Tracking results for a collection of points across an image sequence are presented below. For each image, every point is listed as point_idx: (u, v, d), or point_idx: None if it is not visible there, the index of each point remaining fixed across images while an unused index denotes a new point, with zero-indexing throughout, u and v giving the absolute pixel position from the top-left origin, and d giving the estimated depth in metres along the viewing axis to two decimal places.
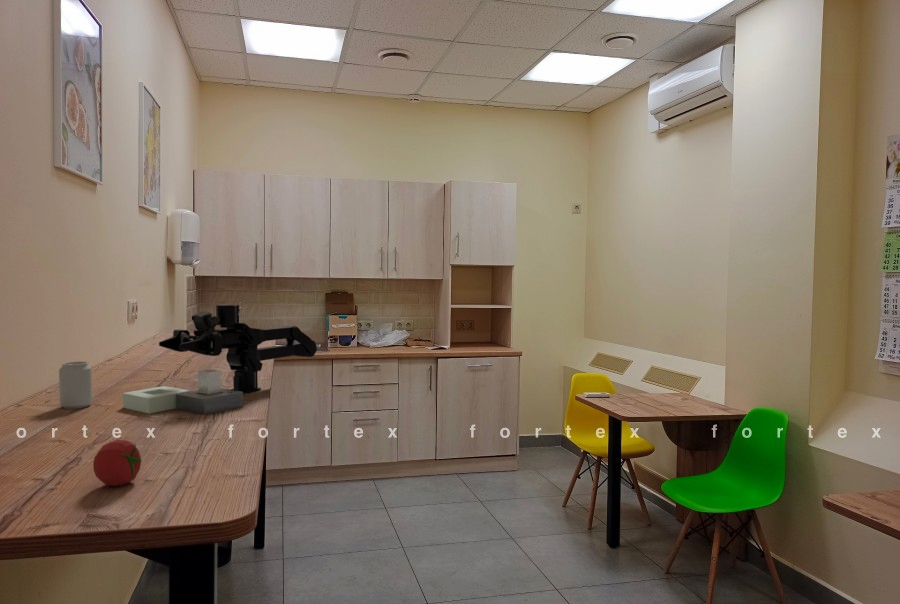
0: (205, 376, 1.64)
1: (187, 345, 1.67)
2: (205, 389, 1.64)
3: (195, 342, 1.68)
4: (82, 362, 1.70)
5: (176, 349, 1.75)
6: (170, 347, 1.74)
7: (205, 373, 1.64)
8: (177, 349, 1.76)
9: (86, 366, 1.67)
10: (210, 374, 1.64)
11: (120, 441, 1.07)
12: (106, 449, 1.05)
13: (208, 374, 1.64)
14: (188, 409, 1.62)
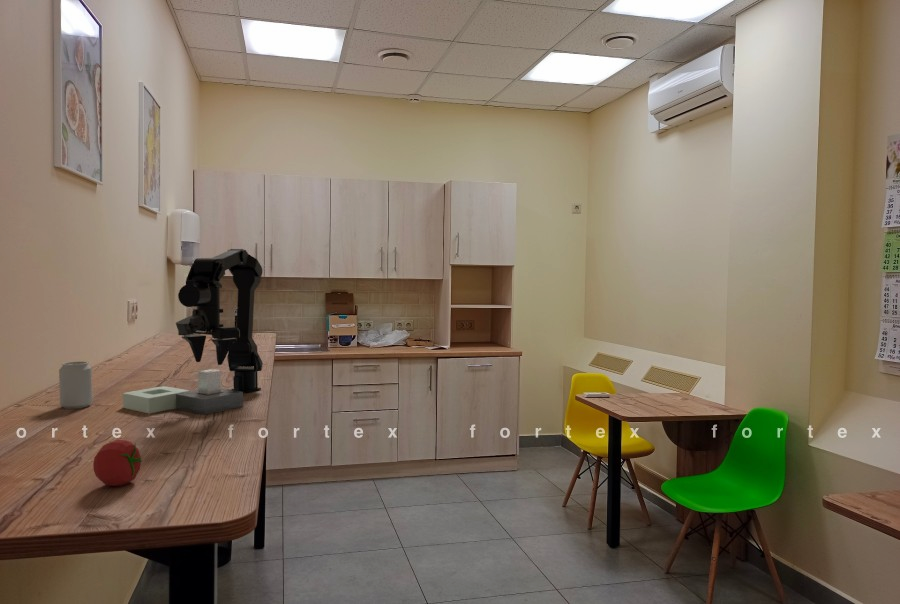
0: (205, 376, 1.64)
1: (220, 357, 1.63)
2: (205, 389, 1.64)
3: (220, 350, 1.62)
4: (82, 362, 1.70)
5: (204, 341, 1.70)
6: (202, 349, 1.70)
7: (205, 373, 1.64)
8: (204, 340, 1.70)
9: (86, 366, 1.67)
10: (210, 374, 1.64)
11: (120, 441, 1.07)
12: (106, 449, 1.05)
13: (208, 374, 1.64)
14: (188, 409, 1.62)
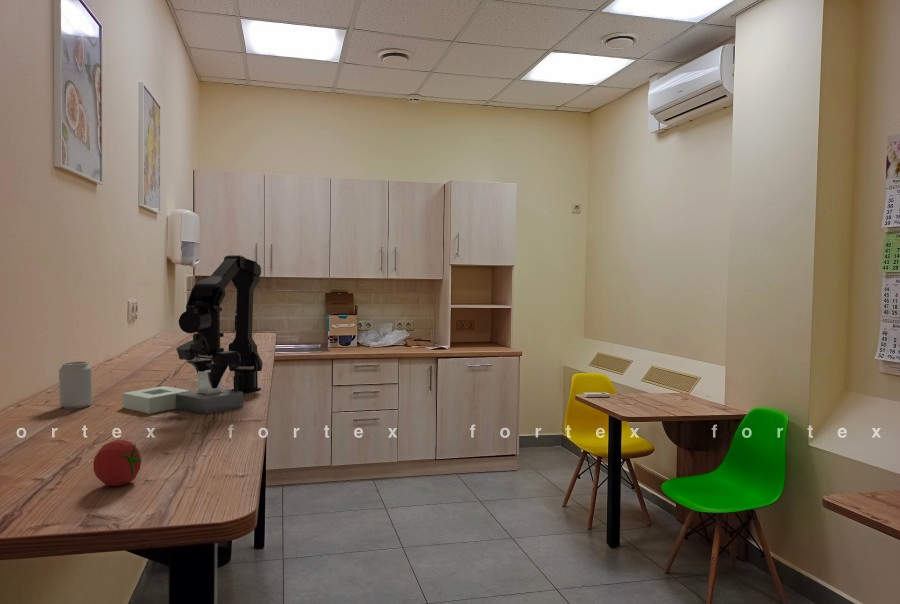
0: (205, 376, 1.64)
1: (215, 381, 1.65)
2: (205, 389, 1.64)
3: (215, 374, 1.64)
4: (82, 362, 1.70)
5: None
6: None
7: (205, 373, 1.64)
8: None
9: (86, 366, 1.67)
10: (210, 373, 1.64)
11: (120, 441, 1.07)
12: (106, 449, 1.05)
13: (208, 374, 1.64)
14: (188, 409, 1.62)
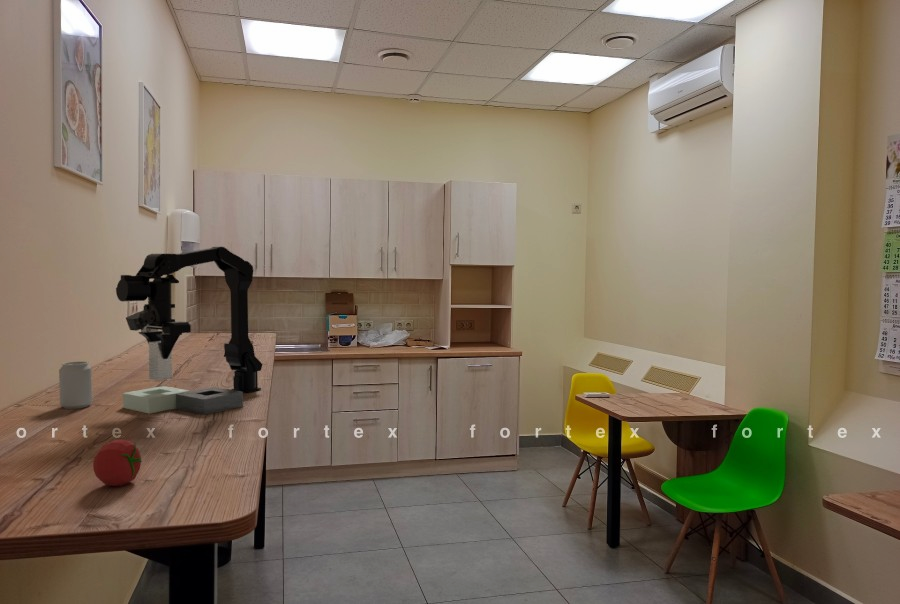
0: (155, 347, 1.64)
1: (166, 352, 1.65)
2: (155, 359, 1.65)
3: (165, 345, 1.64)
4: (82, 362, 1.70)
5: None
6: None
7: (155, 343, 1.64)
8: None
9: (86, 366, 1.67)
10: (160, 344, 1.65)
11: (120, 441, 1.07)
12: (106, 449, 1.05)
13: (158, 344, 1.64)
14: (188, 409, 1.62)
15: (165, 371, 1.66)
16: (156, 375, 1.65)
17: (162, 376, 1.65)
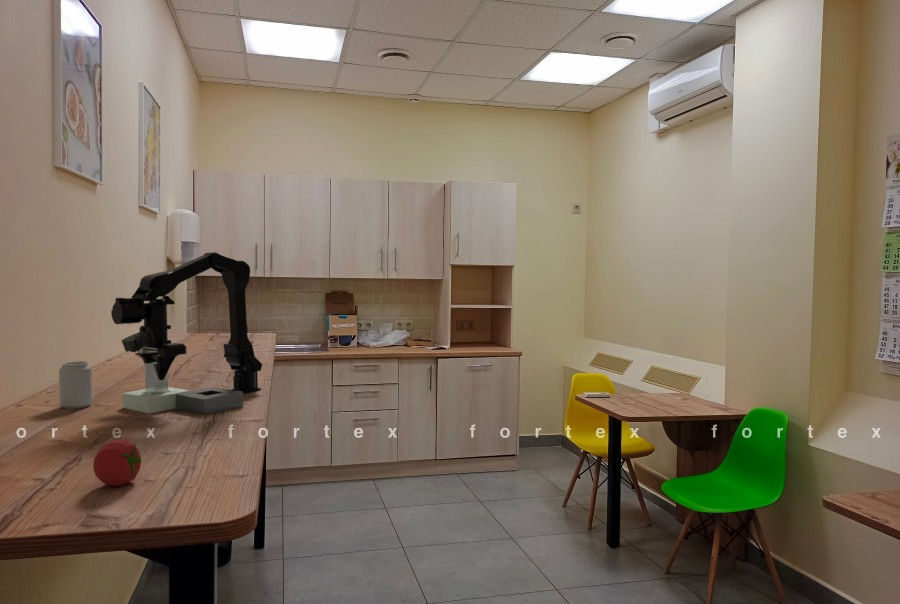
0: (151, 368, 1.65)
1: (162, 373, 1.66)
2: (151, 381, 1.65)
3: (161, 366, 1.65)
4: (82, 362, 1.70)
5: None
6: None
7: (151, 365, 1.65)
8: None
9: (86, 366, 1.67)
10: (156, 365, 1.65)
11: (120, 441, 1.07)
12: (106, 449, 1.05)
13: (154, 366, 1.65)
14: (188, 409, 1.62)
15: (162, 392, 1.67)
16: None
17: None
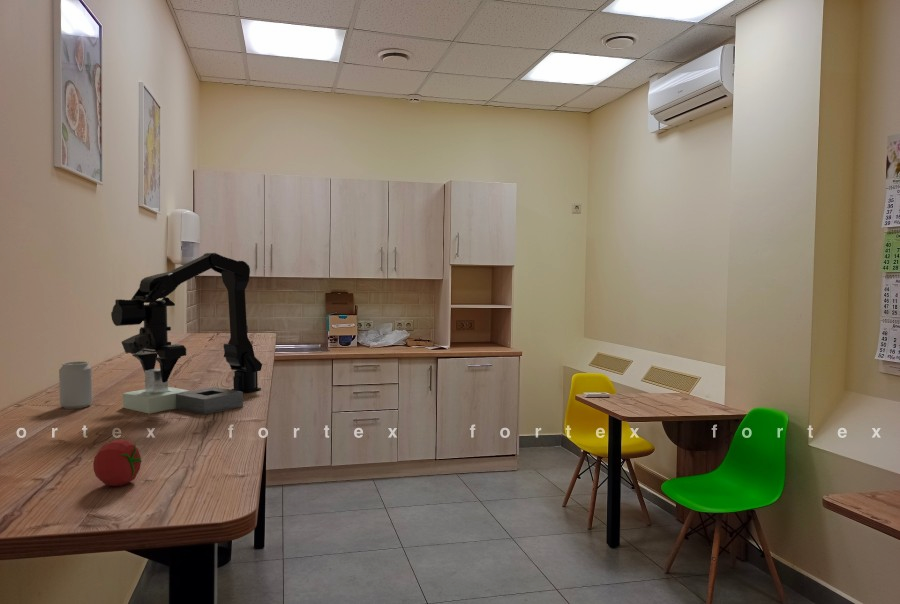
0: (152, 375, 1.65)
1: (164, 375, 1.65)
2: (151, 388, 1.66)
3: (164, 368, 1.64)
4: (82, 362, 1.70)
5: (155, 359, 1.71)
6: (153, 366, 1.70)
7: (151, 372, 1.65)
8: (155, 357, 1.71)
9: (86, 366, 1.67)
10: (156, 372, 1.65)
11: (120, 441, 1.07)
12: (106, 449, 1.05)
13: (154, 373, 1.65)
14: (188, 409, 1.62)
15: None
16: None
17: None
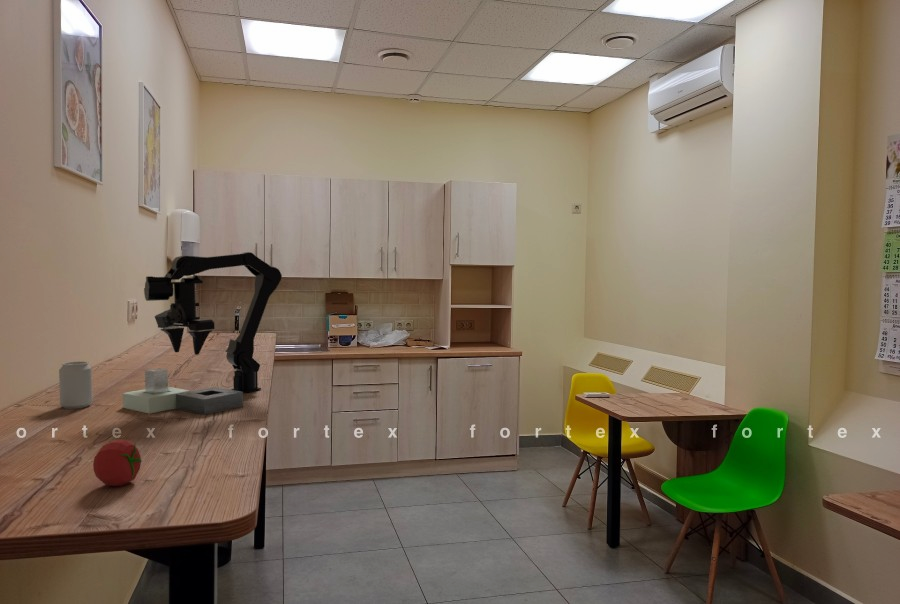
0: (152, 375, 1.65)
1: (197, 348, 1.76)
2: (151, 388, 1.66)
3: (196, 341, 1.75)
4: (82, 362, 1.70)
5: (182, 333, 1.83)
6: (180, 340, 1.83)
7: (151, 372, 1.65)
8: (182, 332, 1.83)
9: (86, 366, 1.67)
10: (156, 372, 1.65)
11: (120, 441, 1.07)
12: (106, 449, 1.05)
13: (154, 373, 1.65)
14: (188, 409, 1.62)
15: None
16: None
17: None
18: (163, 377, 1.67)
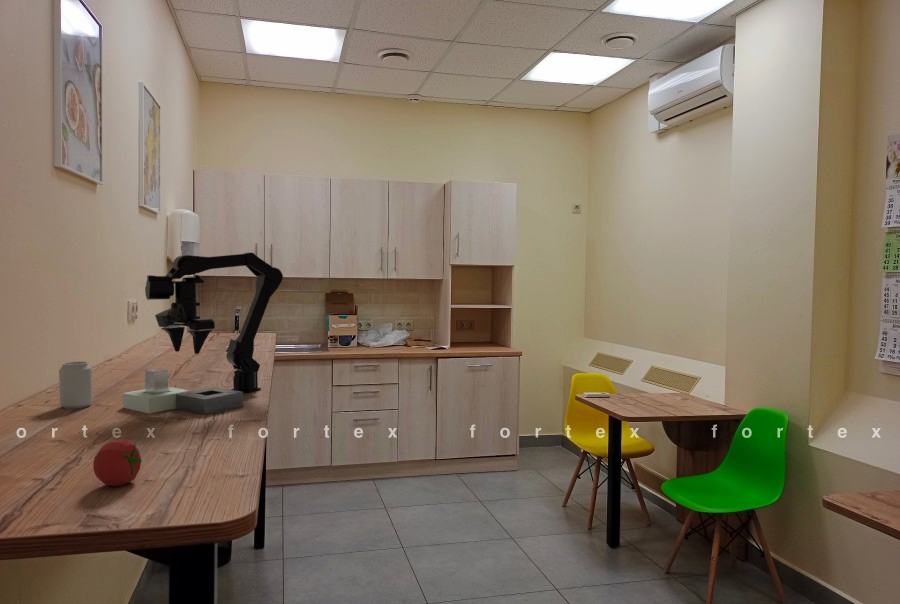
0: (152, 375, 1.65)
1: (197, 347, 1.76)
2: (151, 388, 1.66)
3: (196, 341, 1.75)
4: (82, 362, 1.70)
5: (182, 332, 1.84)
6: (180, 339, 1.83)
7: (151, 372, 1.65)
8: (182, 331, 1.84)
9: (86, 366, 1.67)
10: (156, 373, 1.65)
11: (120, 441, 1.07)
12: (106, 449, 1.05)
13: (154, 373, 1.65)
14: (188, 409, 1.62)
15: None
16: None
17: None
18: (163, 377, 1.67)
